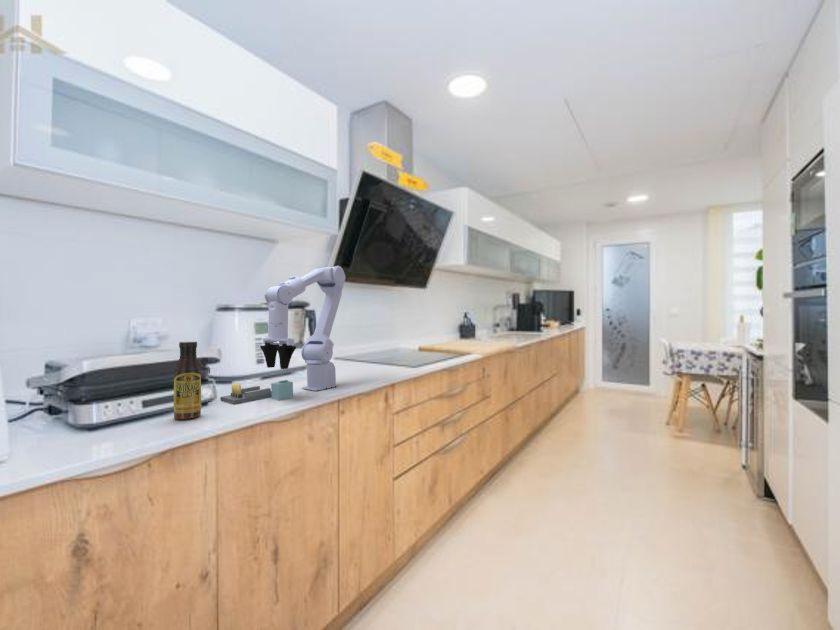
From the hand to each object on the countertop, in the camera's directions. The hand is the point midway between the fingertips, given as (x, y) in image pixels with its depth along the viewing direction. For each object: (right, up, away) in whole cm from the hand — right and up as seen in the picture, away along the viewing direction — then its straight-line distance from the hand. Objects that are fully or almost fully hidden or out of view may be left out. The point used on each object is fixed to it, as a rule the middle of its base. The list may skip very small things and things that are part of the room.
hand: (277, 368), depth 123 cm
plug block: (+1, -10, +1) cm, 10 cm away
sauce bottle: (-16, -11, -19) cm, 27 cm away
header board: (-10, -10, +2) cm, 14 cm away
